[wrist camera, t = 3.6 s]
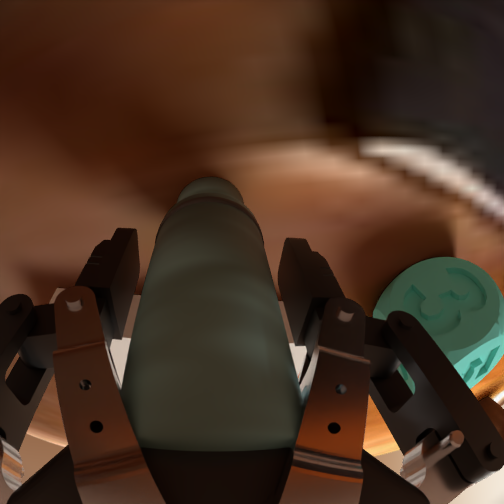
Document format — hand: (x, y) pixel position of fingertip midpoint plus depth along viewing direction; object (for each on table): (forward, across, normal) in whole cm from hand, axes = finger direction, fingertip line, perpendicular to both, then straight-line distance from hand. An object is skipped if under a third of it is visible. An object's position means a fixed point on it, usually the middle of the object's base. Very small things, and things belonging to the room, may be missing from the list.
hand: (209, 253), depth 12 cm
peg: (+4, 0, 0) cm, 4 cm away
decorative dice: (+4, -16, +6) cm, 18 cm away
